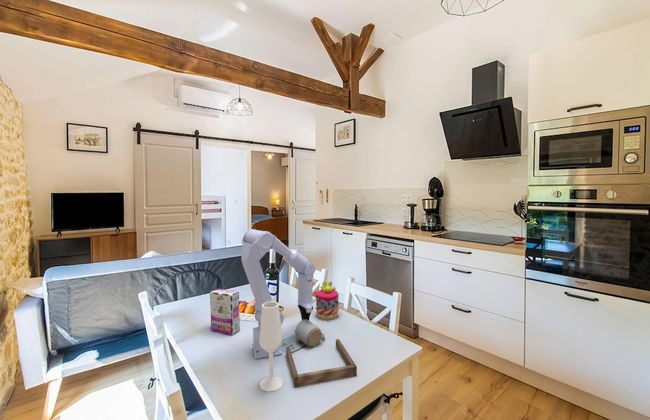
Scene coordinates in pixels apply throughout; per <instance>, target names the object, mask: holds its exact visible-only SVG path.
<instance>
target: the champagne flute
mask: <svg viewBox="0 0 650 420" xmlns="http://www.w3.org/2000/svg"><path fill="white" fill-rule="evenodd" d="M279 305H280V304H279V302H277V301H273V302H266V303H264V304H262V314H261V326H260V339H259V344H260V346H261V347H262V349H263V350H265V351H266V352H268V353H269V357H268V364H269V365H268V368H269V369H268V370H269V371H268V373H269V376H268V377H265V378H263V379H262V380H261V381H260V382H259V387H260V389H261V390H263V391H265V392H273V391H274V392H275V391H276V390H278V389H280V388H281V387H282V386H283V383H284V382H283V379H282V378H281V377H279V376H277V375H276V376H275V375H274V356H273V352H275V351H276V350H277V349H278V348H279V347H281V345H282V344H283V333H282V325H281V322H280V313H279V311H280V306H279Z"/></svg>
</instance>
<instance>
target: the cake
mask: <svg viewBox="0 0 650 420" xmlns="http://www.w3.org/2000/svg"><path fill="white" fill-rule="evenodd" d="M336 289H337V288H336V287H335V286H334V287H333V282H332V281H329V282H328V283H327V281H323V282H322V284H321V286H320V289H319V290H317V291H316V292H315V310H316V315H315V316H316V318H317V319H318V320H321V321H333V320H334V321H335V320H336V319H338V317H339V313H338V312H339V310H340V306H339V292H338V291H337V290H336Z"/></svg>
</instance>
